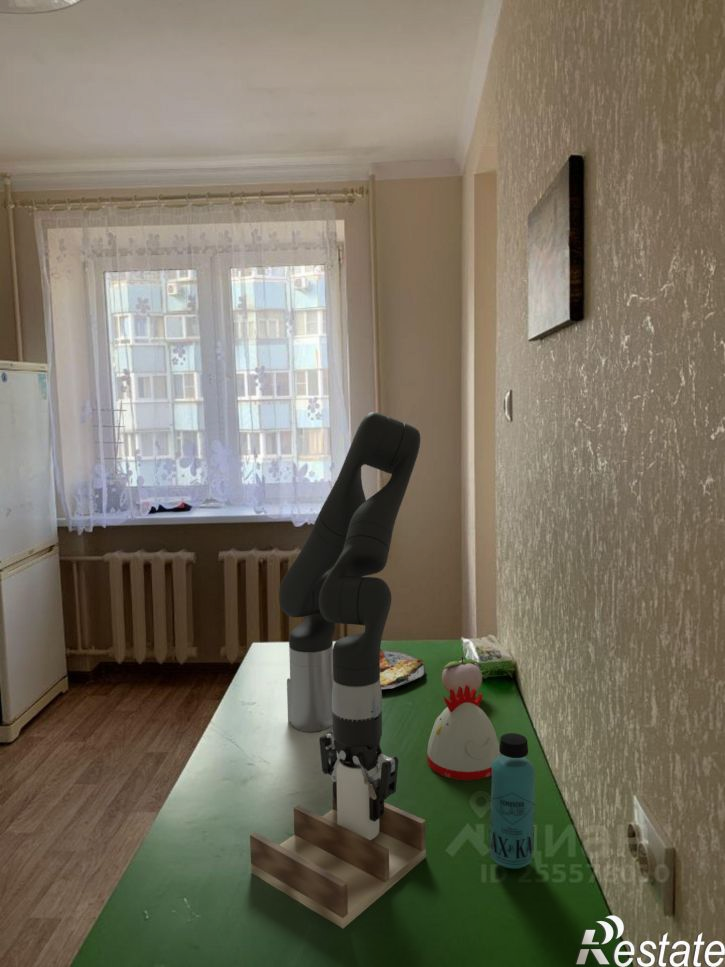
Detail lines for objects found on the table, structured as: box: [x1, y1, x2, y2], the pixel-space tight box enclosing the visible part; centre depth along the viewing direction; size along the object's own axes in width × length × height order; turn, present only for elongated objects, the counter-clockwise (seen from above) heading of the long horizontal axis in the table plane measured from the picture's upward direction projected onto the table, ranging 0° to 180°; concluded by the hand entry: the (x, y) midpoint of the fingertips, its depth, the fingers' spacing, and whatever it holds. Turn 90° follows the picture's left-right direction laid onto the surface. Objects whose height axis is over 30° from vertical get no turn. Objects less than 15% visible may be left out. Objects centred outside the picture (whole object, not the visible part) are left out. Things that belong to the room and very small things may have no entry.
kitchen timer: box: [426, 685, 501, 781], centre depth 138 cm, size 14×14×15 cm
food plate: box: [380, 648, 426, 690], centre depth 182 cm, size 25×23×4 cm
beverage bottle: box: [488, 732, 536, 869], centre depth 107 cm, size 6×7×20 cm
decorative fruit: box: [441, 656, 483, 697], centre depth 166 cm, size 9×8×10 cm
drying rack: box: [249, 783, 427, 929], centre depth 108 cm, size 18×19×6 cm
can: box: [337, 759, 379, 840], centre depth 111 cm, size 6×6×12 cm
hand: (358, 810), depth 112 cm, fingers closed on can, 6 cm apart
